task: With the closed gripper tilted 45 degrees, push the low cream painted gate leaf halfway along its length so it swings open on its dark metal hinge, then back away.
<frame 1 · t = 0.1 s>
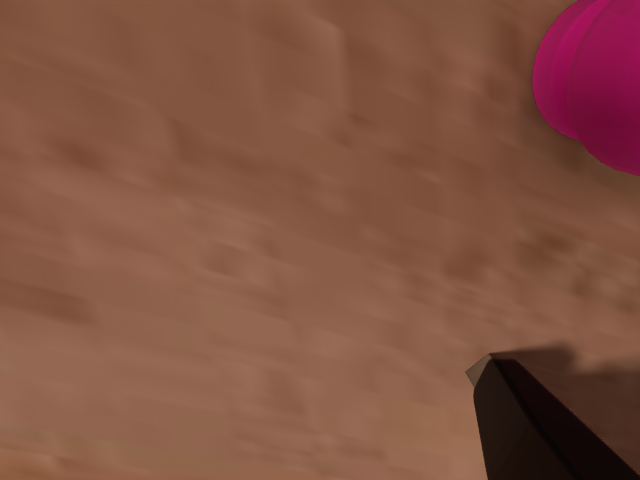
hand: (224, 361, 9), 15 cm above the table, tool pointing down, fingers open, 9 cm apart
pepper mill: (597, 67, 23), on the table
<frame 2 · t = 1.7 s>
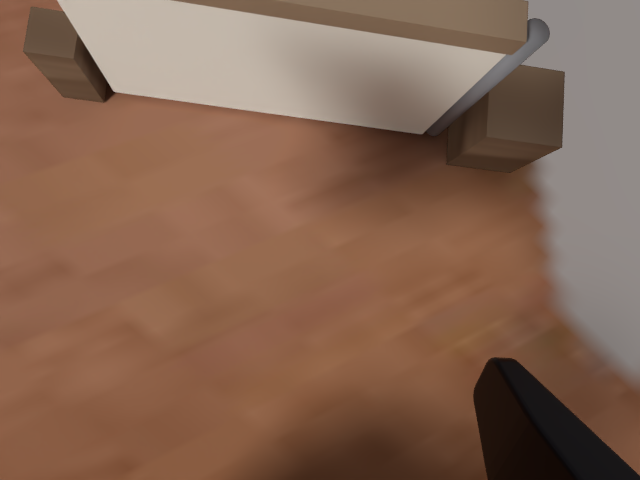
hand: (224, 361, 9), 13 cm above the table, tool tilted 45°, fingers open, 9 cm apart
gate: (294, 59, 18), point 5 cm above the table, hinge at 0.0°
gate frame: (431, 129, 24), on the table
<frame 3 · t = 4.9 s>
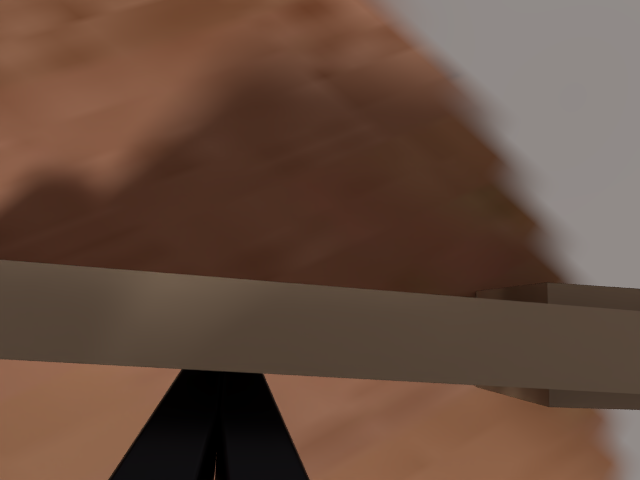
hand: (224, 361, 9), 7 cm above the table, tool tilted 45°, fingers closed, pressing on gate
gate: (247, 323, 11), point 5 cm above the table, hinge at 1.0°, touching gripper
gate frame: (451, 337, 17), on the table
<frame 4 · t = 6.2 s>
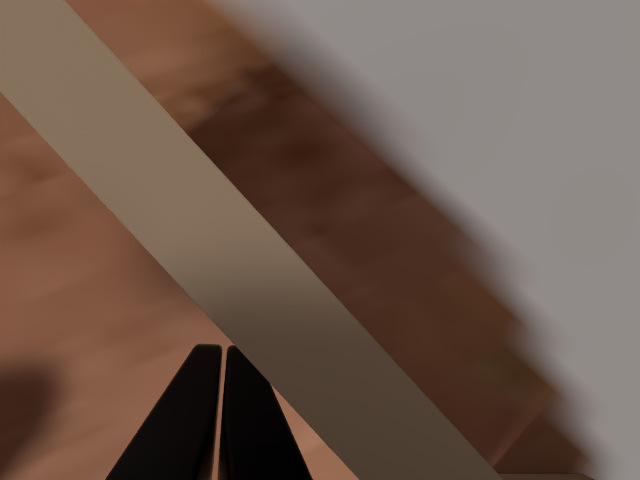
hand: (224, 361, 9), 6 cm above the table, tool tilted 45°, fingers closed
gate: (336, 388, 10), point 5 cm above the table, hinge at 44.1°, touching gripper
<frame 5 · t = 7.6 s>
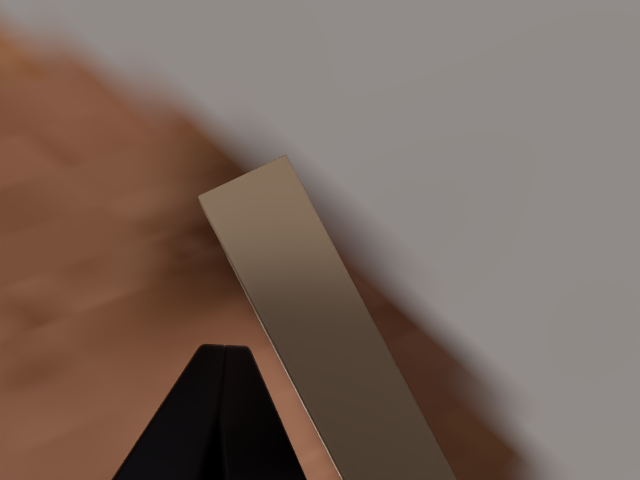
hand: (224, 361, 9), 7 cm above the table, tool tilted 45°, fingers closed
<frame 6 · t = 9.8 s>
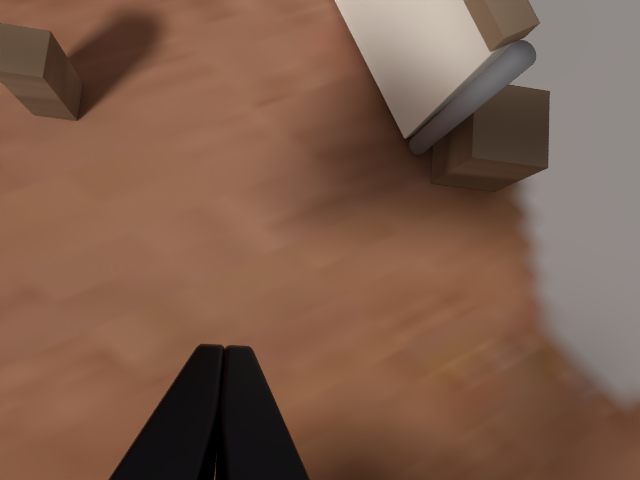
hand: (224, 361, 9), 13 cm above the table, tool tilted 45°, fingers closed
gate frame: (415, 147, 23), on the table
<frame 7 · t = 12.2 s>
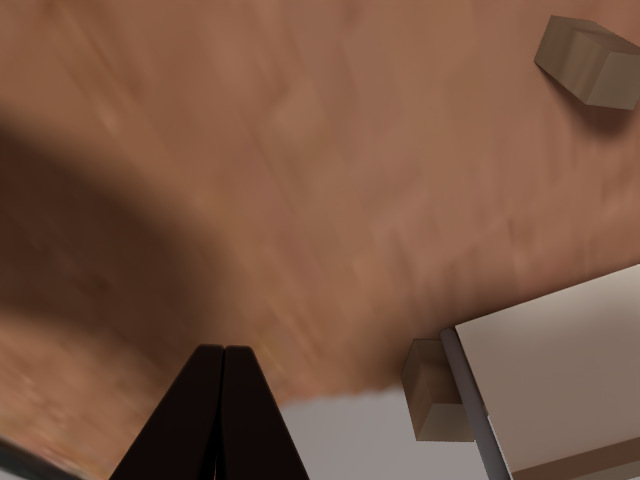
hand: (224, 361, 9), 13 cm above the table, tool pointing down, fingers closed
gate: (622, 360, 23), point 5 cm above the table, hinge at 58.6°
gate frame: (445, 329, 28), on the table
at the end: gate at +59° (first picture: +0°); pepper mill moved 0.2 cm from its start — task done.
